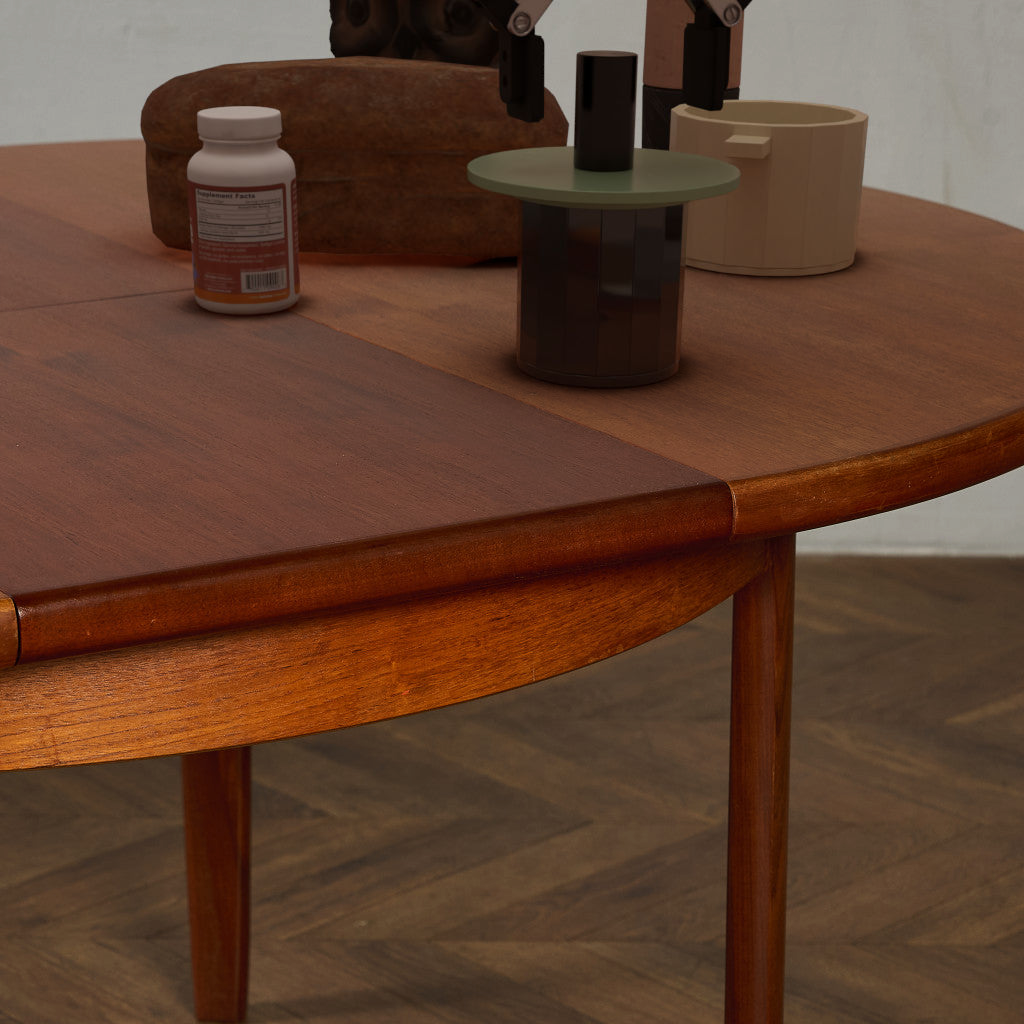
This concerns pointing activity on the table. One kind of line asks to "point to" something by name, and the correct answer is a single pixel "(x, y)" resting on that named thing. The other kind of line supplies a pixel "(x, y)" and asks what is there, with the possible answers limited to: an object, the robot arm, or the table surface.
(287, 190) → the pill bottle
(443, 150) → the bread
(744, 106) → the pot
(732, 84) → the travel mug
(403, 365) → the table surface
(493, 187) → the lid
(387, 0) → the owl
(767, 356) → the table surface
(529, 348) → the cup
